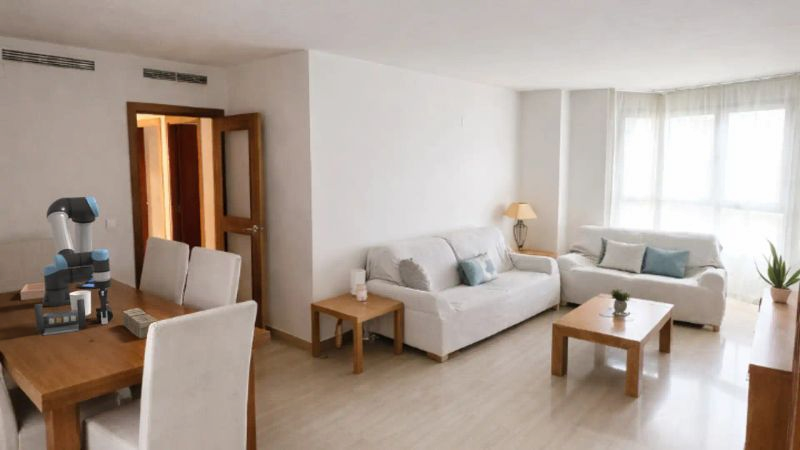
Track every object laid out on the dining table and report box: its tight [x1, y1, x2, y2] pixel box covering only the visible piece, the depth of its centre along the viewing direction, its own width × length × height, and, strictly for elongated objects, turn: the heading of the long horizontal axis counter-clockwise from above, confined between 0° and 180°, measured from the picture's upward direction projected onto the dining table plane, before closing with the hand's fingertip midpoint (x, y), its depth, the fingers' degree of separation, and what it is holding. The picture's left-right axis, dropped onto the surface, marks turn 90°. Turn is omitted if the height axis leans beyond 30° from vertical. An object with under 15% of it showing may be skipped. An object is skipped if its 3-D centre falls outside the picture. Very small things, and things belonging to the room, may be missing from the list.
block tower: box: [122, 307, 158, 339], centre depth 246 cm, size 8×8×29 cm
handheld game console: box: [75, 280, 97, 290], centre depth 335 cm, size 16×13×9 cm
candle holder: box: [69, 289, 92, 317], centre depth 271 cm, size 10×10×12 cm
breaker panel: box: [43, 309, 79, 329], centre depth 254 cm, size 8×16×6 cm, turn 119°
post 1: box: [34, 303, 45, 335], centre depth 241 cm, size 3×3×14 cm
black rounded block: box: [95, 305, 114, 325], centre depth 260 cm, size 10×7×7 cm
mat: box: [42, 324, 80, 337], centre depth 246 cm, size 11×14×1 cm
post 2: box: [77, 299, 87, 329], centre depth 249 cm, size 3×3×14 cm
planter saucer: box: [20, 282, 45, 301], centre depth 315 cm, size 21×20×5 cm
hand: (105, 320), depth 261 cm, fingers open, 13 cm apart
